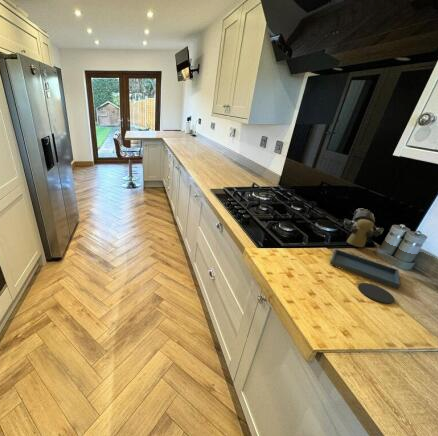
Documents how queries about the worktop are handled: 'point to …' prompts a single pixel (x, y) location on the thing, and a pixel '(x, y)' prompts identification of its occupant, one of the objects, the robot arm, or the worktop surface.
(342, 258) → the tray
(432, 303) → the worktop surface
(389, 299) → the coaster
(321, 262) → the worktop surface
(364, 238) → the cork
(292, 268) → the worktop surface
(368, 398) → the worktop surface
